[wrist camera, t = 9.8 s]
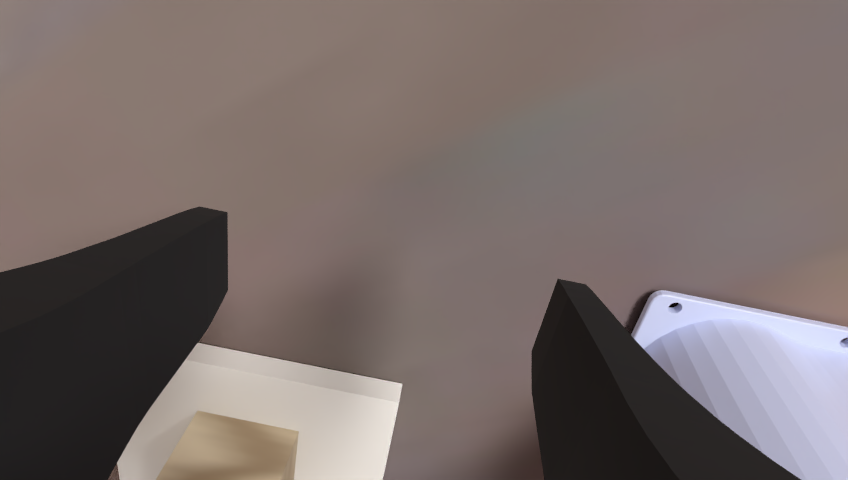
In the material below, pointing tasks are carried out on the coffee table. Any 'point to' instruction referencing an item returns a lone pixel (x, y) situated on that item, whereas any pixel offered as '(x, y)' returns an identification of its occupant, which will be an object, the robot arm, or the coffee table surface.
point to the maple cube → (232, 451)
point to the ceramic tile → (273, 413)
